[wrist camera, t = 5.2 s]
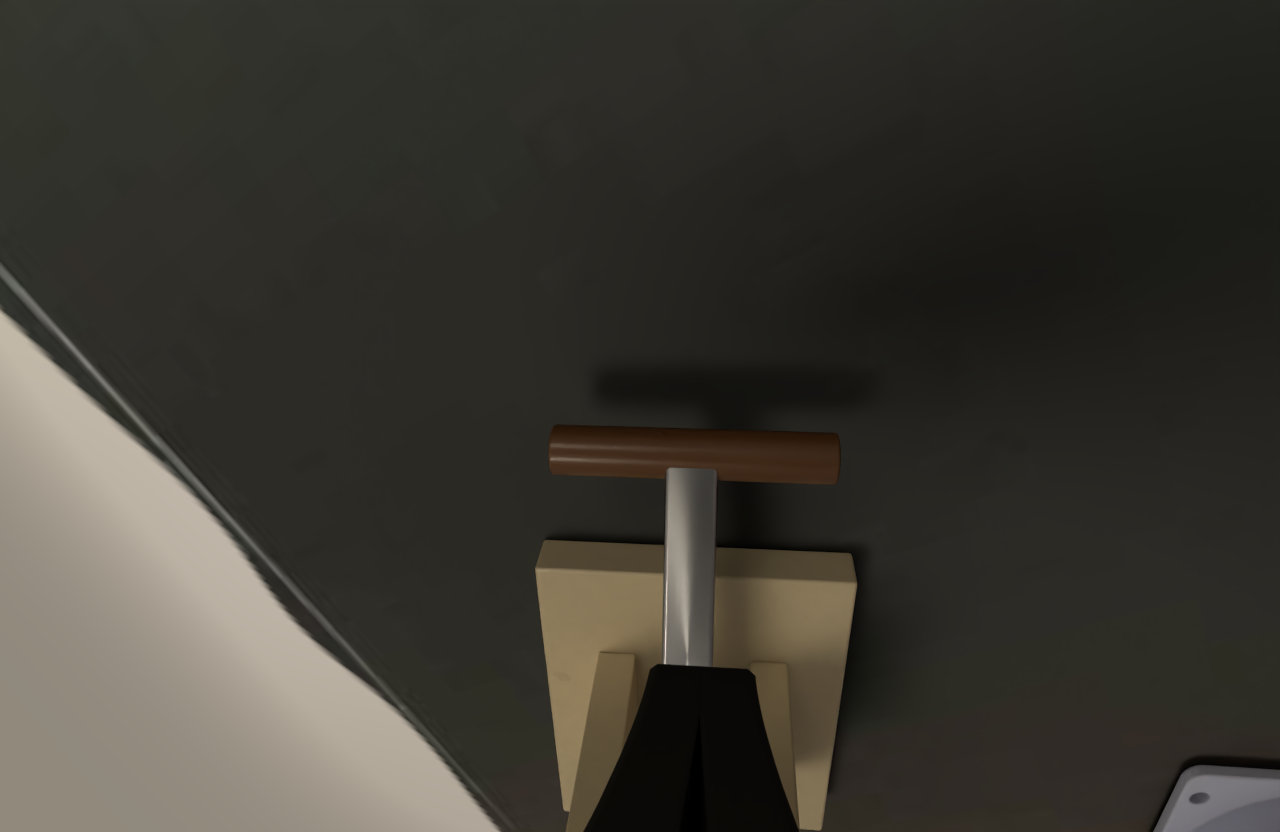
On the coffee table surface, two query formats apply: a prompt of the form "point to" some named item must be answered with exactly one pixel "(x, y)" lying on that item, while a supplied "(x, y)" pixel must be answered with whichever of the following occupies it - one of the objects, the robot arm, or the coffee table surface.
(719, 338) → the coffee table surface
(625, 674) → the bracket
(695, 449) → the lever
